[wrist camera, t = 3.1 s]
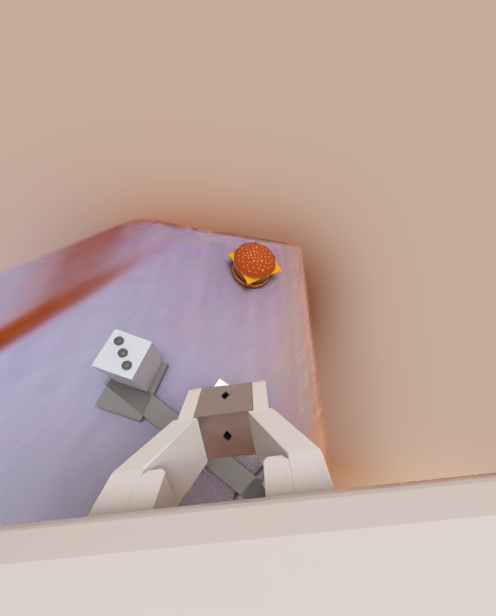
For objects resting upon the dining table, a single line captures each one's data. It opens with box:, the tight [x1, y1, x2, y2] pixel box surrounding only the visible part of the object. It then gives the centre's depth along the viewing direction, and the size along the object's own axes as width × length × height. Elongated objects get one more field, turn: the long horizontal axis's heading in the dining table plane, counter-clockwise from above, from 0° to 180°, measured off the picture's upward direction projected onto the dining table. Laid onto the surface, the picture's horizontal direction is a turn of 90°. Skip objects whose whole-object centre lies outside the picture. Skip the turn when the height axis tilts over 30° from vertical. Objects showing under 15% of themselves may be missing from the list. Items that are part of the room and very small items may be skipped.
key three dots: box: [91, 329, 162, 392], centre depth 33 cm, size 5×5×10 cm
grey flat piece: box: [95, 363, 266, 500], centre depth 36 cm, size 12×36×2 cm, turn 56°
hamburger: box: [227, 242, 281, 289], centre depth 51 cm, size 9×10×7 cm
